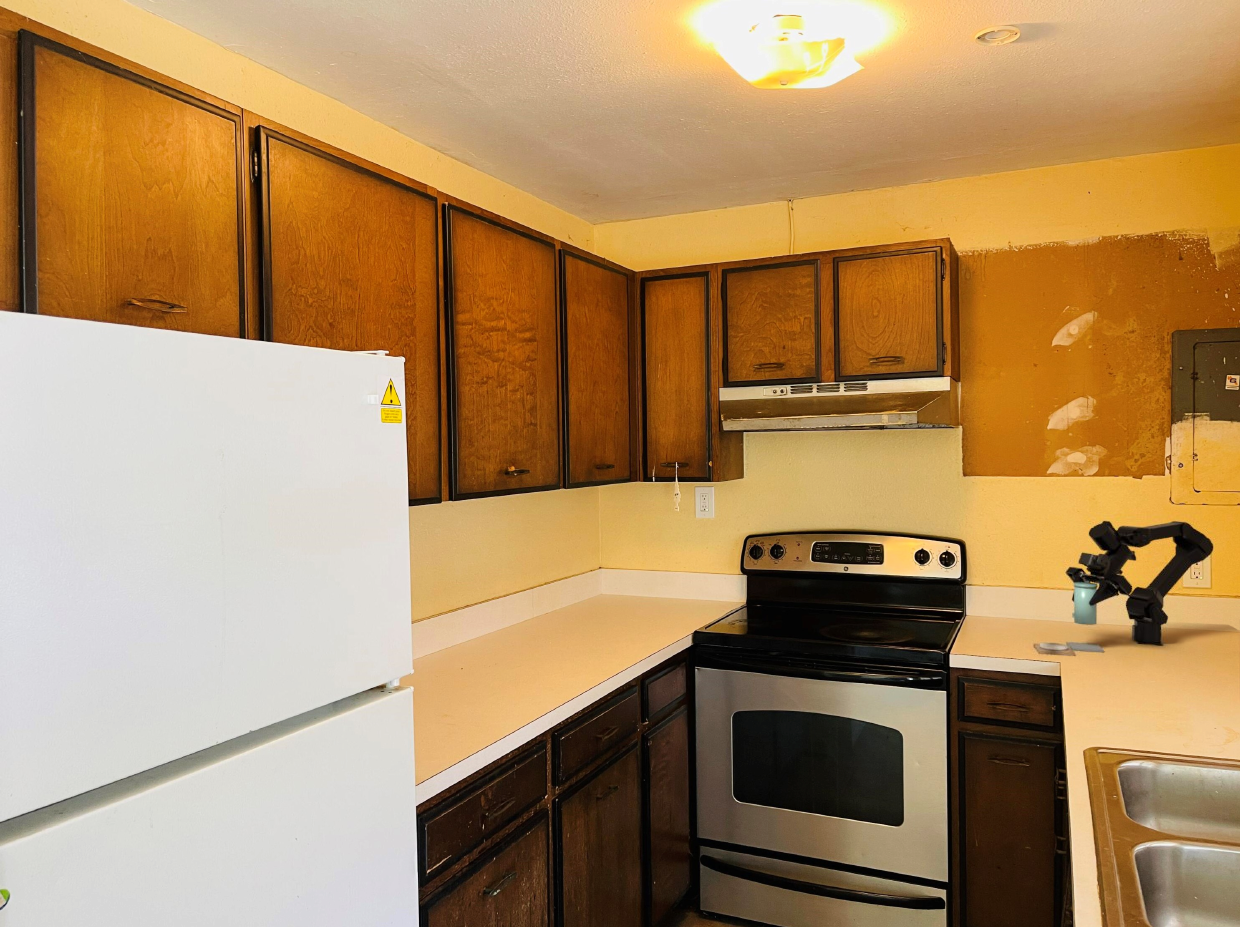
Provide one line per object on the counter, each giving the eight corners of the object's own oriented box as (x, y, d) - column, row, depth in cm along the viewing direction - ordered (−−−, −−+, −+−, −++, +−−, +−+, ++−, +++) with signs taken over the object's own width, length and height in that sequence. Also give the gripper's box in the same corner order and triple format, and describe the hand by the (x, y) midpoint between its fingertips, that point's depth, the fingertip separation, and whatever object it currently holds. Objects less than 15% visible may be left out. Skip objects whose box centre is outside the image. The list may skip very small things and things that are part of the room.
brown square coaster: (1068, 648, 251) (1068, 642, 251) (1074, 655, 243) (1074, 650, 243) (1033, 646, 254) (1033, 641, 254) (1038, 653, 245) (1038, 648, 245)
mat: (1097, 645, 254) (1097, 643, 254) (1103, 652, 247) (1103, 650, 247) (1066, 644, 257) (1066, 641, 257) (1072, 650, 249) (1072, 648, 249)
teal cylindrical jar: (1094, 621, 253) (1094, 582, 253) (1099, 625, 248) (1099, 586, 247) (1070, 620, 255) (1070, 581, 255) (1074, 624, 249) (1074, 585, 249)
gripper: (1070, 539, 261) (1040, 579, 258) (1124, 546, 243) (1092, 589, 240) (1092, 564, 263) (1061, 604, 260) (1146, 573, 246) (1115, 616, 243)
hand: (1081, 602), depth 251 cm, fingers closed on teal cylindrical jar, 6 cm apart
